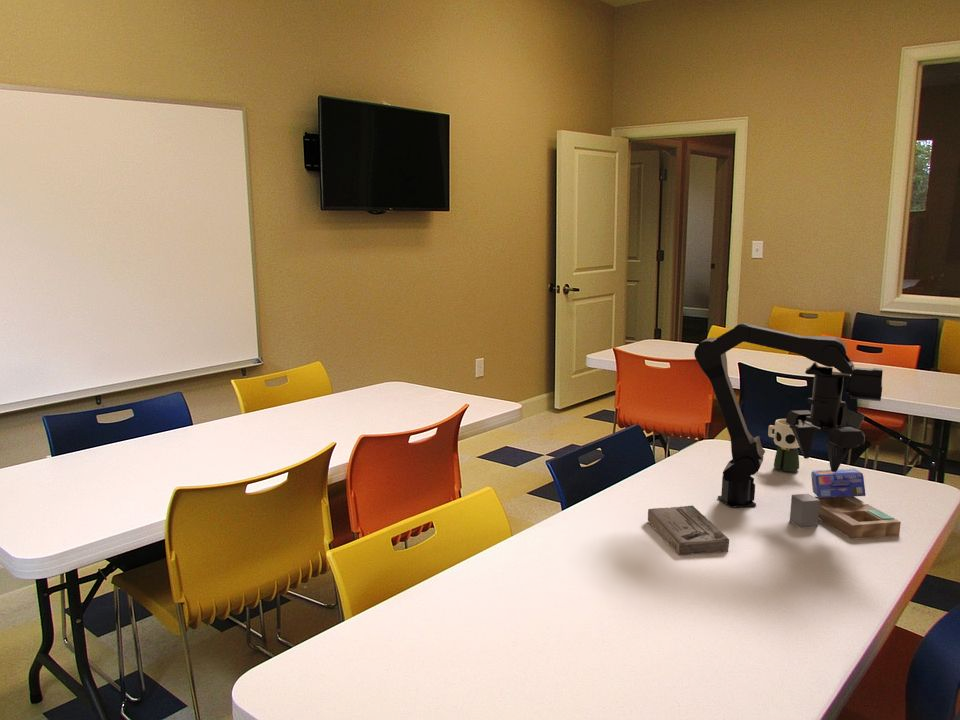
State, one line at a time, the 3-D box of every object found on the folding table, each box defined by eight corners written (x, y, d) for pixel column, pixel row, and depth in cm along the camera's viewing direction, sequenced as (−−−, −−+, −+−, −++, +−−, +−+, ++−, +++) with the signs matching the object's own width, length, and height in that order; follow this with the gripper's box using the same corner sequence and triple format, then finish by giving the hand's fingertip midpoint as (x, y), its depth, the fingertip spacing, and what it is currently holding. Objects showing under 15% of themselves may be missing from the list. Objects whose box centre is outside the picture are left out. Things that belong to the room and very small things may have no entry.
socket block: (851, 539, 152) (853, 524, 151) (805, 510, 167) (806, 496, 167) (899, 535, 154) (900, 520, 153) (849, 507, 169) (850, 493, 169)
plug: (800, 528, 158) (802, 501, 157) (789, 520, 161) (791, 494, 160) (817, 526, 158) (819, 500, 157) (806, 519, 162) (808, 493, 161)
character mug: (760, 468, 197) (763, 420, 195) (771, 462, 202) (775, 415, 200) (801, 477, 189) (805, 428, 187) (812, 471, 194) (816, 423, 192)
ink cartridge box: (855, 466, 174) (865, 473, 161) (858, 490, 174) (869, 499, 160) (810, 469, 177) (816, 476, 164) (812, 492, 177) (819, 501, 163)
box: (692, 517, 163) (692, 504, 162) (730, 553, 146) (730, 538, 145) (645, 521, 161) (646, 508, 160) (678, 558, 144) (679, 543, 144)
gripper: (891, 404, 152) (882, 476, 155) (830, 385, 170) (823, 450, 173) (844, 406, 150) (836, 480, 153) (787, 386, 168) (781, 452, 171)
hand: (819, 464), depth 163 cm, fingers open, 9 cm apart
